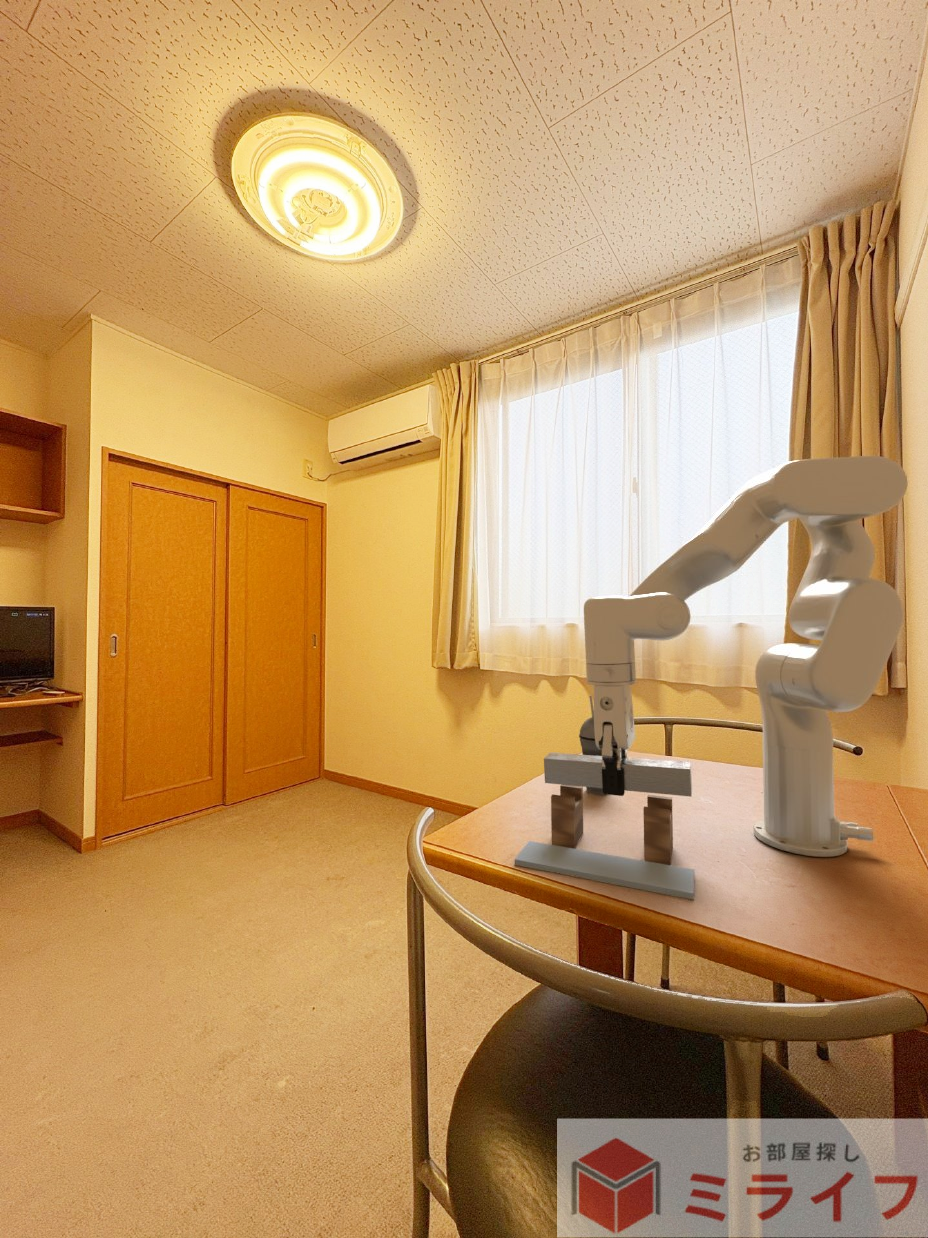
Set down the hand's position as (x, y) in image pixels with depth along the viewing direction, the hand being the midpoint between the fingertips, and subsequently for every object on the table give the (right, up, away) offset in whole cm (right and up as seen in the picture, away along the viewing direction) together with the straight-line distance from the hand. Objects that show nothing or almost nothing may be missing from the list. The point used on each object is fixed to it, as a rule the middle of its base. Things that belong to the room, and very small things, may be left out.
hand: (616, 788), depth 82 cm
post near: (+6, -9, -3) cm, 11 cm away
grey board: (-4, -9, -8) cm, 13 cm away
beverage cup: (+4, -10, +26) cm, 28 cm away
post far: (-7, -9, +3) cm, 12 cm away
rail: (0, +1, 0) cm, 1 cm away
